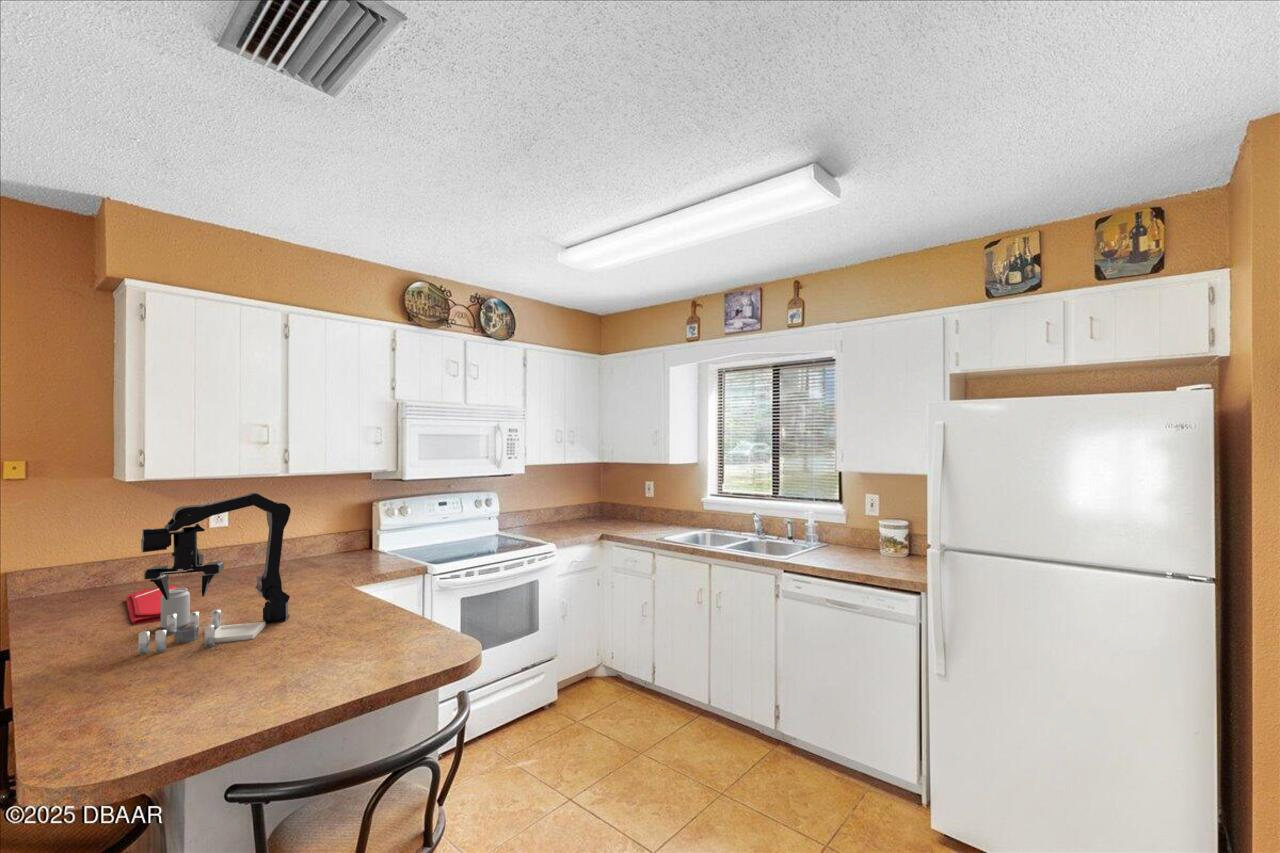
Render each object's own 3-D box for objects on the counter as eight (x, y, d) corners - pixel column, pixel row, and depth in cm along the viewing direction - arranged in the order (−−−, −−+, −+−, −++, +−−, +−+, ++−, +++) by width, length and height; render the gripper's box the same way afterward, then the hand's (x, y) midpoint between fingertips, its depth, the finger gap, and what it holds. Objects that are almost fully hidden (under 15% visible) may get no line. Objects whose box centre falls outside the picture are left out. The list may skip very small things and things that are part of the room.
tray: (265, 626, 189) (265, 621, 189) (252, 639, 177) (252, 634, 177) (220, 630, 185) (220, 626, 185) (204, 644, 173) (204, 639, 173)
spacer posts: (236, 626, 190) (236, 607, 190) (212, 647, 171) (212, 626, 171) (169, 632, 184) (168, 613, 184) (136, 655, 165) (136, 634, 165)
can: (173, 630, 186) (173, 593, 186) (154, 629, 187) (154, 592, 187) (195, 623, 193) (195, 587, 193) (177, 622, 195) (177, 586, 195)
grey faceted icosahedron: (200, 636, 181) (200, 624, 181) (192, 642, 175) (192, 630, 175) (181, 638, 179) (180, 626, 179) (172, 644, 174) (172, 632, 174)
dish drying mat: (131, 627, 191) (131, 615, 191) (125, 601, 221) (125, 592, 221) (191, 616, 202) (191, 605, 202) (177, 593, 232) (177, 584, 232)
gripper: (229, 540, 189) (229, 588, 189) (159, 545, 183) (159, 594, 183) (218, 546, 179) (218, 597, 179) (143, 551, 172) (143, 604, 172)
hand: (185, 597), depth 178 cm, fingers open, 9 cm apart
